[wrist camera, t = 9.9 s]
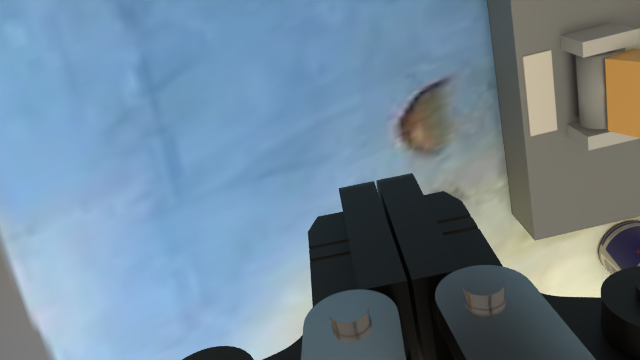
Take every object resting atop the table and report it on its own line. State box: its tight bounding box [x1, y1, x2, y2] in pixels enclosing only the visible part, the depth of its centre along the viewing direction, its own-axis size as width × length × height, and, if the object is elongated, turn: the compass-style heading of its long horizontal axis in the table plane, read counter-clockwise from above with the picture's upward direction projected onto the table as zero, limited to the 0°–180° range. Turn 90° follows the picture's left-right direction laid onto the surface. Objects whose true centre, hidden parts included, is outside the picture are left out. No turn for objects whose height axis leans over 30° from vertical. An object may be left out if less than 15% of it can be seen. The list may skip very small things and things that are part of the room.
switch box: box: [487, 0, 640, 240], centre depth 42 cm, size 24×10×8 cm, turn 13°
